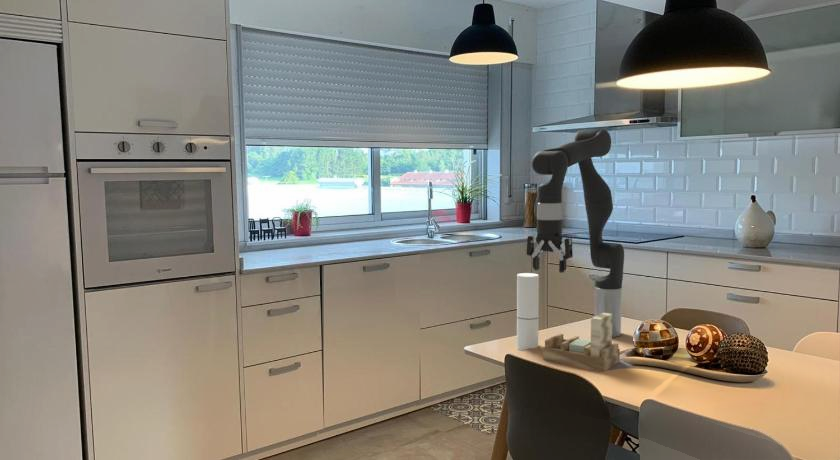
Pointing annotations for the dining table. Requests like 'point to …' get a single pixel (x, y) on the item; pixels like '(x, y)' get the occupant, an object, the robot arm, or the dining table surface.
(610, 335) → the beige mottled rectangular block
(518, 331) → the cylindrical container
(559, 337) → the rack
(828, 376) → the dining table surface
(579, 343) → the offcut upper
